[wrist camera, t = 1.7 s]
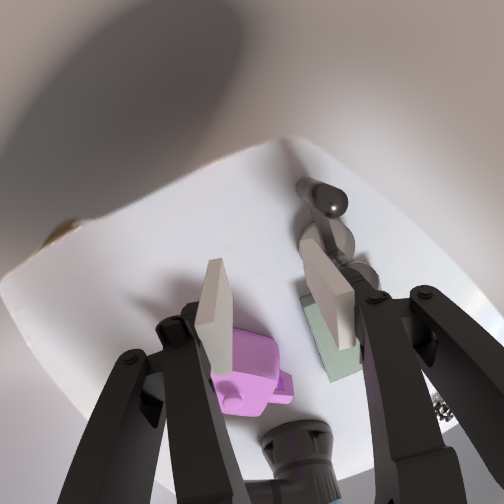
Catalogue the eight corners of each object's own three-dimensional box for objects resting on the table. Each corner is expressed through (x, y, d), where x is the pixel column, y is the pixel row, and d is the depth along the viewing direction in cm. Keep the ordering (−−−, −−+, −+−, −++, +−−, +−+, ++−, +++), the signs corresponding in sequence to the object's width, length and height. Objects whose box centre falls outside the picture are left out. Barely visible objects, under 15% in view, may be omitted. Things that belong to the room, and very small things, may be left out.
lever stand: (385, 347, 43) (397, 365, 38) (326, 372, 44) (334, 394, 39) (371, 268, 38) (387, 284, 33) (299, 298, 39) (307, 318, 34)
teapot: (167, 363, 42) (155, 411, 32) (177, 311, 39) (162, 358, 29) (275, 385, 44) (282, 432, 35) (298, 338, 41) (313, 386, 32)
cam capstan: (355, 259, 37) (392, 296, 27) (308, 279, 37) (331, 324, 27) (328, 167, 33) (365, 175, 23) (274, 187, 33) (290, 203, 23)
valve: (457, 369, 48) (429, 405, 52) (471, 386, 42) (440, 423, 46) (470, 369, 49) (444, 404, 53) (484, 385, 43) (454, 421, 47)
